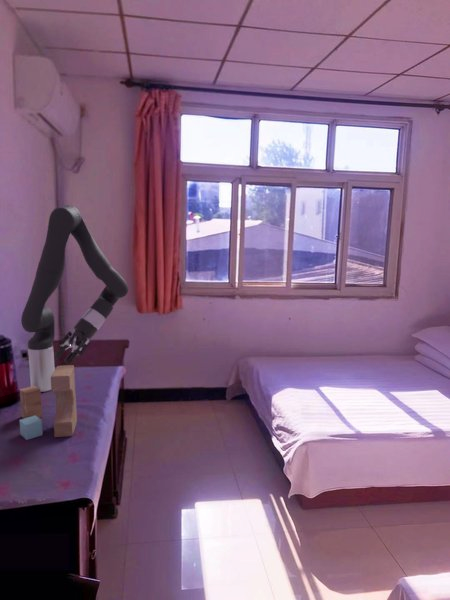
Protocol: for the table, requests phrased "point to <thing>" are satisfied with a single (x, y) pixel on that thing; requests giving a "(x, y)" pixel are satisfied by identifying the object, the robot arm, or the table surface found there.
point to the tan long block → (31, 402)
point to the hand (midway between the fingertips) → (61, 359)
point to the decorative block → (64, 400)
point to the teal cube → (31, 427)
